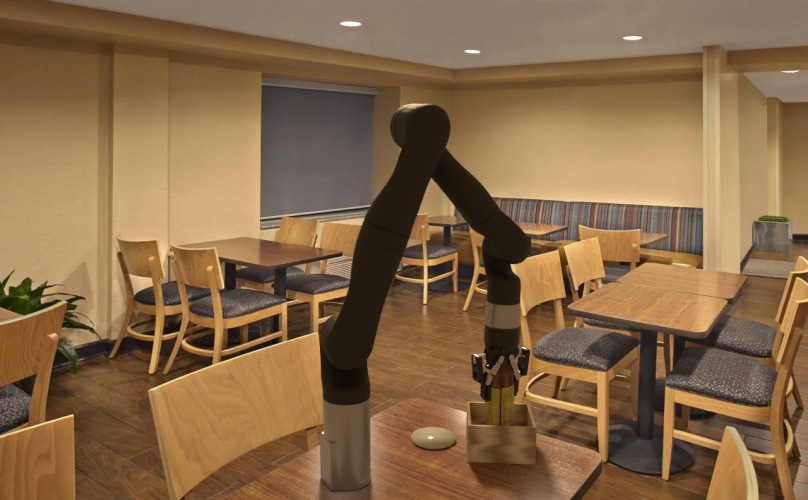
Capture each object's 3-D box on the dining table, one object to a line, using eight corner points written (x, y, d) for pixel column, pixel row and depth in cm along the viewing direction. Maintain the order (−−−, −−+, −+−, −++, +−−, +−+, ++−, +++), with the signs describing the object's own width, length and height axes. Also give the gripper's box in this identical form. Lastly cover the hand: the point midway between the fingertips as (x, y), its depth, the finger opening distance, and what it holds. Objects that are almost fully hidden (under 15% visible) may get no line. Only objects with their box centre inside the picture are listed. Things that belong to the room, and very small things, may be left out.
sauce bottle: (512, 423, 143) (516, 337, 140) (514, 436, 137) (518, 345, 134) (482, 422, 144) (485, 335, 141) (483, 434, 138) (486, 344, 135)
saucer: (424, 453, 139) (424, 450, 139) (403, 434, 148) (403, 432, 148) (464, 443, 144) (464, 441, 143) (441, 426, 152) (441, 424, 152)
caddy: (467, 461, 135) (468, 425, 134) (466, 434, 148) (466, 401, 147) (535, 464, 134) (536, 428, 133) (528, 436, 147) (529, 403, 146)
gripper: (484, 330, 130) (481, 409, 133) (540, 323, 137) (537, 398, 139) (464, 321, 137) (461, 397, 139) (519, 314, 143) (515, 386, 146)
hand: (499, 397), depth 139 cm, fingers closed on sauce bottle, 6 cm apart
